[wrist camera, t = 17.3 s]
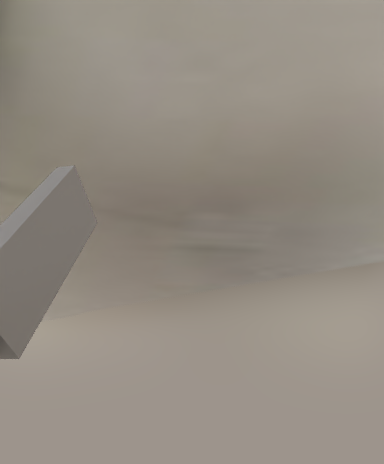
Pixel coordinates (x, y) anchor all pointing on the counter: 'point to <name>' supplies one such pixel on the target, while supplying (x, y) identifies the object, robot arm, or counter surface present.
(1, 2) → the counter surface
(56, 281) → the robot arm
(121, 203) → the counter surface
